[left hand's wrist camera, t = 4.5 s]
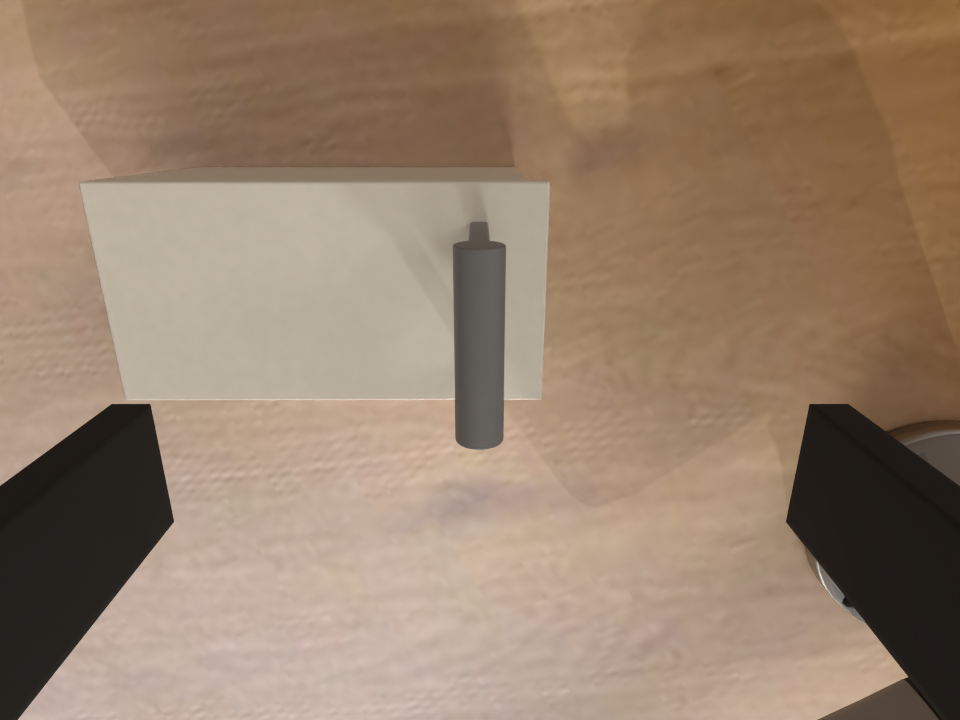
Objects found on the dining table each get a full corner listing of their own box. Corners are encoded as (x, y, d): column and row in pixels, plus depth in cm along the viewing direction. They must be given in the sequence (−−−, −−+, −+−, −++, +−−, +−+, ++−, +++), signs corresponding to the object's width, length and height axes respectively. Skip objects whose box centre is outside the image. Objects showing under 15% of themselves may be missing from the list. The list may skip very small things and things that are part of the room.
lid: (548, 180, 25) (578, 199, 17) (540, 392, 28) (562, 486, 20) (91, 180, 25) (-78, 199, 17) (135, 392, 28) (9, 487, 20)
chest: (515, 167, 34) (529, 179, 25) (512, 326, 38) (523, 391, 28) (200, 167, 34) (91, 179, 25) (223, 325, 37) (136, 392, 28)
